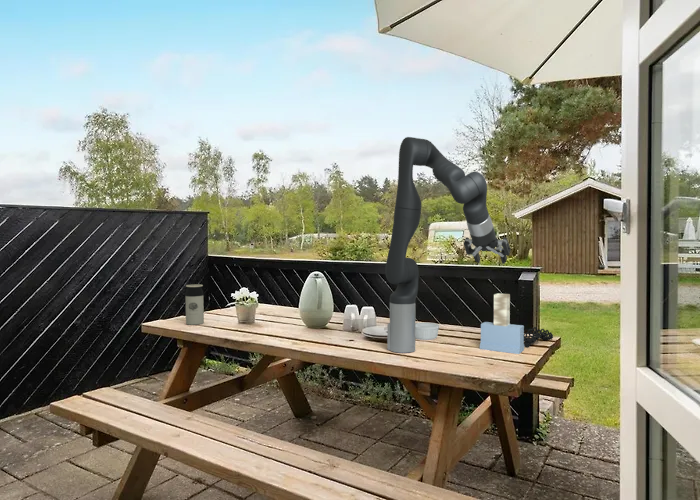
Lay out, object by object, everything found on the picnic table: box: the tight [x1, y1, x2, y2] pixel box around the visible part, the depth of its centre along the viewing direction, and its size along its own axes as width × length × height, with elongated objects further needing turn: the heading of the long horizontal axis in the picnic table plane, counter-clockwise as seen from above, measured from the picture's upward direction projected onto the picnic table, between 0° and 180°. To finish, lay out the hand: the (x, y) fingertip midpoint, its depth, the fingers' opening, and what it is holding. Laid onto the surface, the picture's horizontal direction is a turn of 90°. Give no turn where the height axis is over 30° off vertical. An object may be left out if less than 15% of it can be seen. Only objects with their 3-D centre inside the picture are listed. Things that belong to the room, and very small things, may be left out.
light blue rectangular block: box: [479, 321, 525, 355], centre depth 181 cm, size 14×7×9 cm, turn 57°
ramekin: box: [415, 321, 440, 341], centre depth 202 cm, size 11×11×5 cm
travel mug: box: [184, 283, 205, 326], centre depth 233 cm, size 8×8×18 cm
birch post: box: [493, 292, 511, 326], centre depth 181 cm, size 4×4×11 cm
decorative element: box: [524, 326, 554, 349], centre depth 191 cm, size 22×5×6 cm, turn 131°
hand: (491, 261), depth 168 cm, fingers open, 8 cm apart
